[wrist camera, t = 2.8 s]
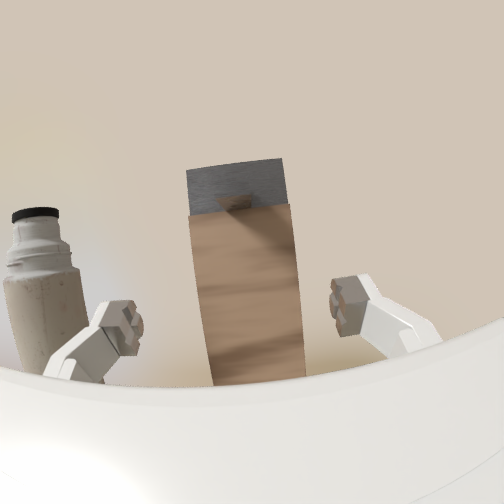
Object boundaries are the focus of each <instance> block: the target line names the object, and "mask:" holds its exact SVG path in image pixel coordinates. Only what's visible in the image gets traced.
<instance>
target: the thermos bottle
mask: <svg viewBox="0 0 504 504" xmlns="http://www.w3.org/2000/svg"><path fill="white" fill-rule="evenodd" d="M58 218H59V210H58V209H56V208H51V207H35V208H27V209H23V210H19V211H17V212H15V213H13V214H12V223H14V230H13V239H14V245H13V246H12V247H11V248H10V249H9V251H8V252H7V264H6V266H7V267H8V277H6V278H5V279H4V280H3V286H4V292H5V298H6V304H7V309H8V314H9V318H10V323H11V327H12V330H13V335H14V339H15V342H16V346H17V349H18V352H19V356H20V359H21V362H22V365H23V368H24V371H25V372H28V373H33V374H38V375H43V373H44V371H45V368H46V366H47V364H48V362H49V359H50V357H51V356H52V355H53V354H54V353H55V352H56V351H58V350H59V349H60V348H61V347H62V346H63V345H65V344H66V343H67V342H68V341H70V340H71V339H72V338H73V337H74V336H76V335H77V334H78V333H79V332H80V331H82V330H83V329H84V328H85V327H89V321H88V317H87V312H86V306H85V301H84V296H83V290H82V284H81V277H80V270H79V269H78V268H75V267H73V266H72V263H71V254H72V252H70V246H69V245H68V244H67V243H66V242H64V241H62V240H61V238H60V227H59V224H58ZM98 383H99V384H105V382H104V379H103V378H102V379H101V380H100V381H99V382H98Z"/></svg>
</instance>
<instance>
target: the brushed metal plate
mask: <svg viewBox="0 0 504 504" xmlns="http://www.w3.org/2000/svg"><path fill="white" fill-rule="evenodd" d="M186 173H187V186H188V198H189V207H190V216H193V215H200V214H207V213H215V212H223V211H230V210H238V209H247V208H255V207H264V206H273V205H283V204H288V199H287V191H286V184H285V177H284V170H283V163H282V158H280V159H269V160H268V159H267V160H258V161H249V162H240V163H232V164H224V165H217V166H210V167H204V168H197V169H191V170H187V171H186Z"/></svg>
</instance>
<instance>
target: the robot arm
mask: <svg viewBox="0 0 504 504" xmlns="http://www.w3.org/2000/svg"><path fill="white" fill-rule="evenodd" d="M331 289H332V291H333V292H332V294H331V295H330V301H329V303H330V311H331V314H332V317H333V318H334V319H336V328H337V330H338V333H339V335H340V337H346V336H352V335H357V334H360V336H361V337H363V338H364V339H365V340H366V341H368V342H369V343H370V344H371V345H373V346H374V347H375V348H376V349H378V350H379V351H380V352H381V353H382V354H384V355H385V356H386V357H387V358H388V359H386V360H382V361H378V362H374V363H370V364H366V365H362V366H358V367H353V368H348V369H344V370H339V371H334V372H329V373H323V374H318V375H312V376H306V377H299V378H293V379H286V380H278V381H270V382H261V383H251V384H240V385H226V386H209V387H208V386H207V387H142V386H122V385H110V384H99V383H98V382H99V381H100V380H101V379H102V378H103V376H104V375H105V374H106V373H107V372H108V371H109V369H110V368H111V367H112V366H113V365H114V363H115V362H116V361H117V360H118V359H119V358H120V356H137V353H138V349H139V346H140V343H139V341H138V339H140V337H142V335H143V330H144V329H143V320H142V318H141V315H140V314H138V313H137V312H136V311H135V310H136V308H137V307H136V305H135V303H134V301H132V300H121V301H103V302H101V303H100V304H99V306H98V308H97V310H96V312H95V314H94V317H93V319H92V321H91V323H90V325H89V327H85V328H84V329H83V330H82V331H80V332H79V333H78V334H77V335H76V336H74V337H73V338H72V339H71V340H70V341H68V342H67V343H66V344H65V345H63V346H62V347H61V348H60V349H59V350H58V351H56V352H55V353H54V354H53V355H52V356H51V357H50V359H49V362H48V364H47V366H46V368H45V371H44V373H43V375H38V374H33V373H28V372H23V371H18V370H14V369H10V368H6V367H3V366H0V504H504V317H502V318H499V319H497V320H494V321H492V322H490V323H488V324H486V325H484V326H481V327H479V328H477V329H474V330H472V331H469V332H467V333H464V334H462V335H460V336H457V337H454V338H451V339H449V340H446V341H442V339H441V337H440V336H439V334H438V332H437V331H436V329H435V328H434V326H433V325H432V323H431V322H430V321H429V320H427V319H425V318H423V317H421V316H420V315H418V314H416V313H414V312H412V311H410V310H409V309H407V308H405V307H403V306H401V305H399V304H398V303H396V302H394V301H392V300H390V299H388V298H386V297H385V298H383V297H382V295H381V294H380V292H379V290H378V289H377V287H376V286H375V284H374V282H373V281H372V279H371V278H370V276H369V274H367V273H365V274H359V275H355V276H348V277H342V278H335V279H332V281H331Z"/></svg>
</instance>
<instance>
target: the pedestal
mask: <svg viewBox="0 0 504 504" xmlns="http://www.w3.org/2000/svg"><path fill="white" fill-rule="evenodd" d="M188 219H189V228H190V237H191V246H192V254H193V262H194V270H195V277H196V284H197V292H198V298H199V305H200V311H201V318H202V324H203V330H204V335H205V342H206V347H207V353H208V358H209V364H210V369H211V374H212V379H213V384H214V386H226V385H240V384H251V383H261V382H270V381H278V380H286V379H293V378H299V377H306V369H305V355H304V339H303V326H302V314H301V303H300V292H299V281H298V271H297V262H296V253H295V244H294V235H293V227H292V219H291V211H290V204H283V205H273V206H264V207H255V208H247V209H238V210H230V211H223V212H215V213H207V214H200V215H193V216H189V217H188Z"/></svg>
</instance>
